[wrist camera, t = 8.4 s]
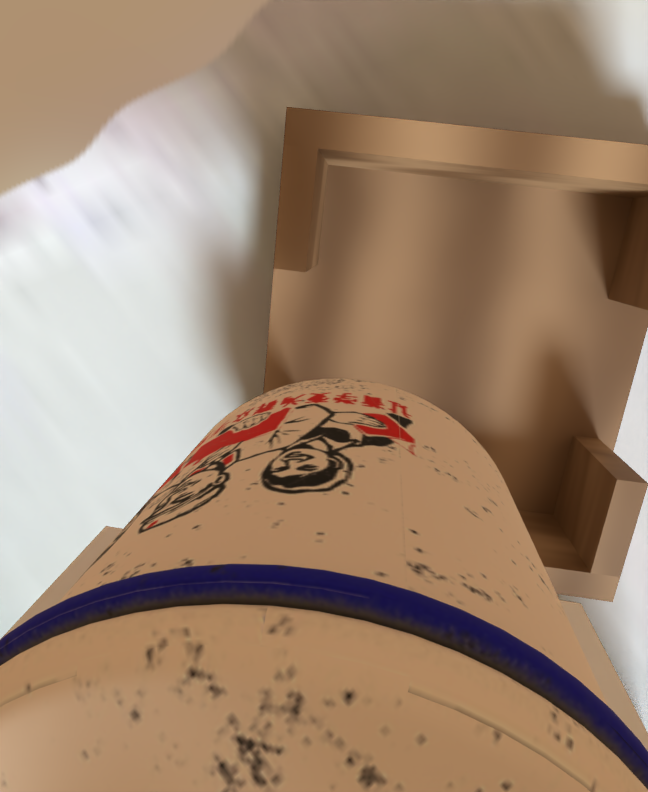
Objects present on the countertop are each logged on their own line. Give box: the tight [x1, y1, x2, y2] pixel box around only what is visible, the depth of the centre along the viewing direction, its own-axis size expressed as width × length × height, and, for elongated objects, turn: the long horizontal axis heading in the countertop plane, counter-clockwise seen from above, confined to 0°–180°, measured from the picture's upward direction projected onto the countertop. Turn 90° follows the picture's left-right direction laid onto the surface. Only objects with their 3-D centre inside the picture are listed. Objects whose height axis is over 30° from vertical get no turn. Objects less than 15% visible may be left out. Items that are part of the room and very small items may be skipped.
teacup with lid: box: [0, 379, 648, 792], centre depth 9 cm, size 12×9×12 cm
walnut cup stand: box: [263, 107, 648, 602], centre depth 25 cm, size 17×19×8 cm
